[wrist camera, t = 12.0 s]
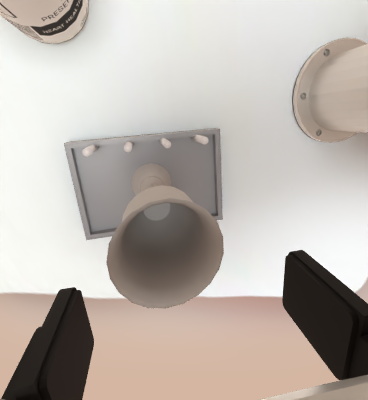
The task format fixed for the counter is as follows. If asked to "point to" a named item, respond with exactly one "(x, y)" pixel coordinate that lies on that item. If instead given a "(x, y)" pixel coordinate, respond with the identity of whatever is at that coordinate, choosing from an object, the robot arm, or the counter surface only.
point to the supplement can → (46, 18)
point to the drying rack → (133, 159)
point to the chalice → (163, 244)
